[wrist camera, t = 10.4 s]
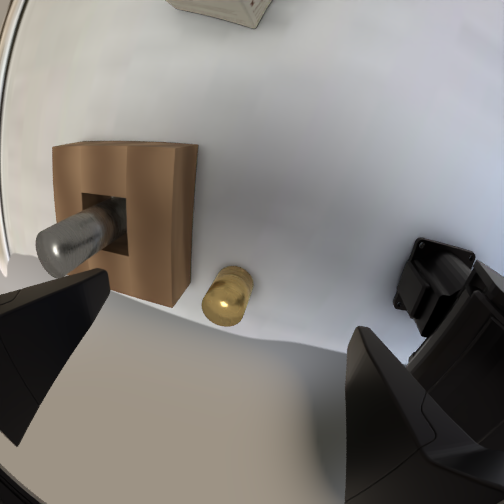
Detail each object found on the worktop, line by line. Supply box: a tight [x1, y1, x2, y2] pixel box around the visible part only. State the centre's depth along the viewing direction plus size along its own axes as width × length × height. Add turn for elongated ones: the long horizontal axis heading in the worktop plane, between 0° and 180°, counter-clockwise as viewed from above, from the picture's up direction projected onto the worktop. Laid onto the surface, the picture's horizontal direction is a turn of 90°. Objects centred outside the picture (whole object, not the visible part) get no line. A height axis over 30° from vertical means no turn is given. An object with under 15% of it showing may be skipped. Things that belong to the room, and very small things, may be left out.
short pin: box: [202, 266, 253, 327], centre depth 22 cm, size 3×3×4 cm
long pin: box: [36, 197, 127, 278], centre depth 18 cm, size 3×3×10 cm
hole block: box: [52, 141, 198, 308], centre depth 21 cm, size 12×12×4 cm
